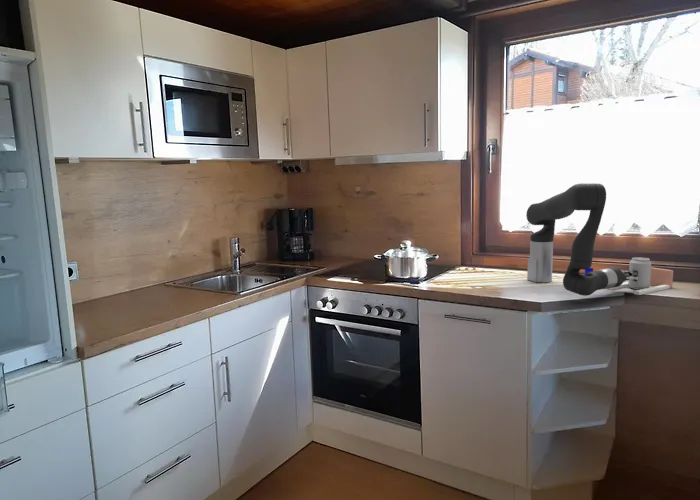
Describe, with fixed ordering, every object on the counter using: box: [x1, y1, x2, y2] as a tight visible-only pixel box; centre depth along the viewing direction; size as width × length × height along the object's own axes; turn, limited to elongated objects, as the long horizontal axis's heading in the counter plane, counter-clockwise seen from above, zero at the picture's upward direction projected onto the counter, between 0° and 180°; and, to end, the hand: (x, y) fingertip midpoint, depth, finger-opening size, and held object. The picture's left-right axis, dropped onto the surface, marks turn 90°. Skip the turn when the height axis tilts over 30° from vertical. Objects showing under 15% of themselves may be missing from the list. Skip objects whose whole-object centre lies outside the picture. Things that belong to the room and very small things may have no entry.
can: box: [627, 257, 652, 290], centre depth 205 cm, size 8×8×12 cm
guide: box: [608, 266, 674, 296], centre depth 205 cm, size 22×13×7 cm, turn 120°
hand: (635, 272), depth 203 cm, fingers closed
